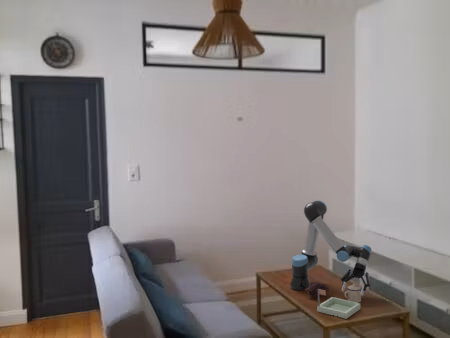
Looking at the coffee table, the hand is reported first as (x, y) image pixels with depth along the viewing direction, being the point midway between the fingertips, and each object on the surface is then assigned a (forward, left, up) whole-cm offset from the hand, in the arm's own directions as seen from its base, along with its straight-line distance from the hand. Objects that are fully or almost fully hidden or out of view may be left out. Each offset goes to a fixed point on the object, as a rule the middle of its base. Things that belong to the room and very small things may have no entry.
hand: (351, 292), depth 296 cm
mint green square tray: (0, -18, -6) cm, 19 cm away
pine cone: (-23, -5, -6) cm, 25 cm away
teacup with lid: (0, +2, -6) cm, 7 cm away
